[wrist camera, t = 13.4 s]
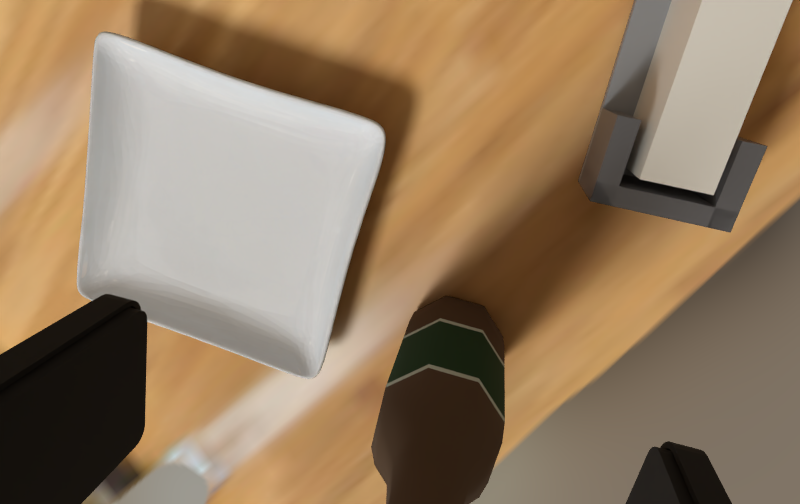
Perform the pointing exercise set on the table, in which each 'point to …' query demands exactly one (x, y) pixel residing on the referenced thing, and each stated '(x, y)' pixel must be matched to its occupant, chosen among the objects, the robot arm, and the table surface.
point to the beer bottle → (442, 407)
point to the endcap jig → (619, 128)
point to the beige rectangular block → (702, 88)
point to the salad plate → (222, 203)
